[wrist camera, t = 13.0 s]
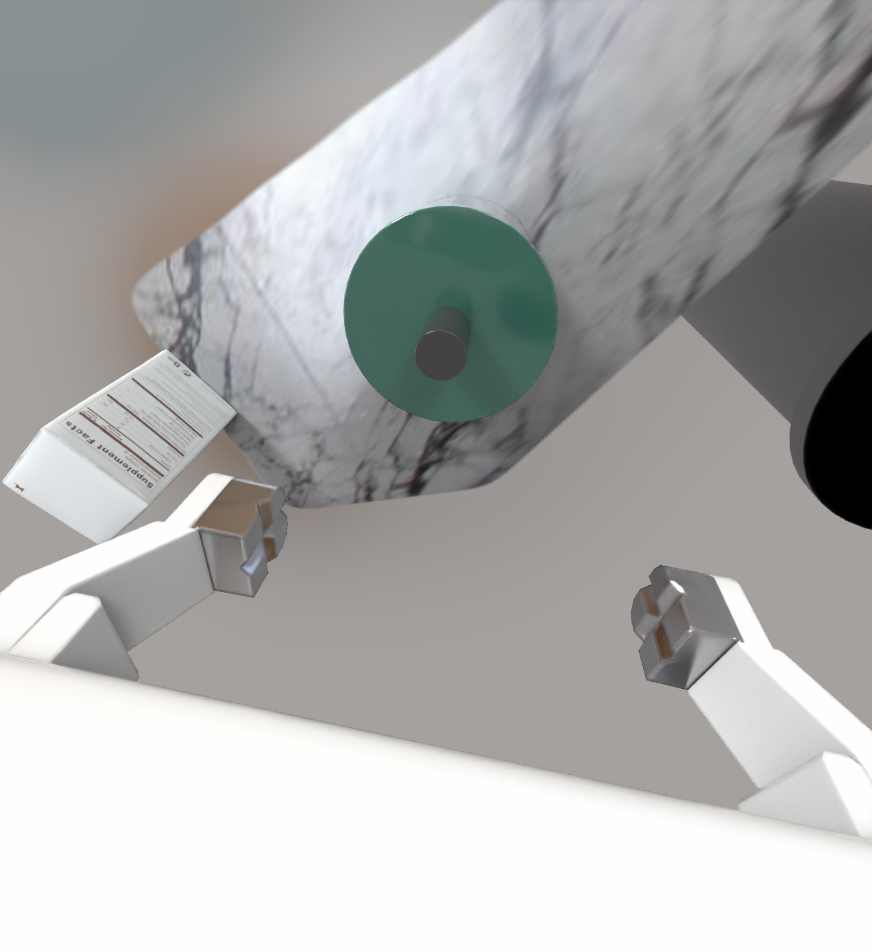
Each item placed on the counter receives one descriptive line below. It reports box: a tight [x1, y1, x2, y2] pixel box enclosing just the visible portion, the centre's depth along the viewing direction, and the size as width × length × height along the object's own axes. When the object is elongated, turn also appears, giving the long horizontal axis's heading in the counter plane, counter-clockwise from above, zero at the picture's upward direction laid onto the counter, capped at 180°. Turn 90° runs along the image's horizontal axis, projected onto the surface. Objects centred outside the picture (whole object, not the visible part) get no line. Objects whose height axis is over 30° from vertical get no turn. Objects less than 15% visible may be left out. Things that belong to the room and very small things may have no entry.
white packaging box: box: [3, 350, 237, 544], centre depth 34 cm, size 7×7×13 cm
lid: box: [344, 204, 558, 422], centre depth 22 cm, size 11×11×5 cm
